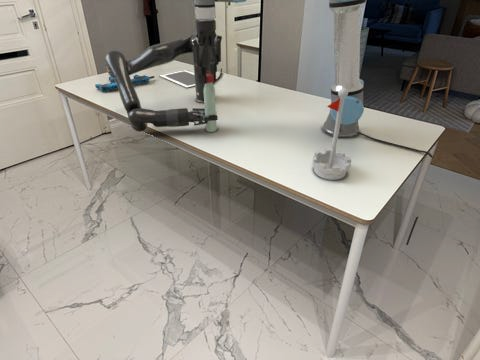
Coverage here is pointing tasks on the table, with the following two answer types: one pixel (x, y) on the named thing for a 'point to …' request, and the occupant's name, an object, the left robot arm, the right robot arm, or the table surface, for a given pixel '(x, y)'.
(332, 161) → the flag stand
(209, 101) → the bottle
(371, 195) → the table surface
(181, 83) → the tablet
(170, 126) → the left robot arm
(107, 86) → the submachine gun
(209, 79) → the cap
